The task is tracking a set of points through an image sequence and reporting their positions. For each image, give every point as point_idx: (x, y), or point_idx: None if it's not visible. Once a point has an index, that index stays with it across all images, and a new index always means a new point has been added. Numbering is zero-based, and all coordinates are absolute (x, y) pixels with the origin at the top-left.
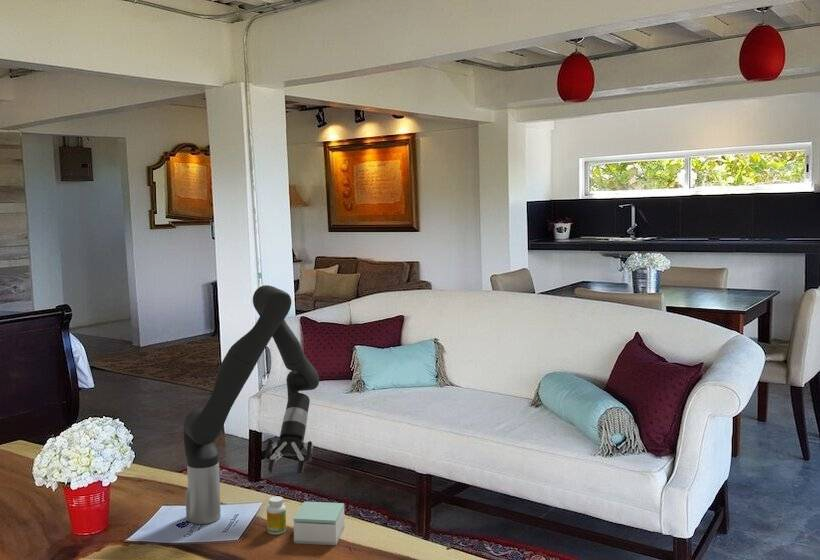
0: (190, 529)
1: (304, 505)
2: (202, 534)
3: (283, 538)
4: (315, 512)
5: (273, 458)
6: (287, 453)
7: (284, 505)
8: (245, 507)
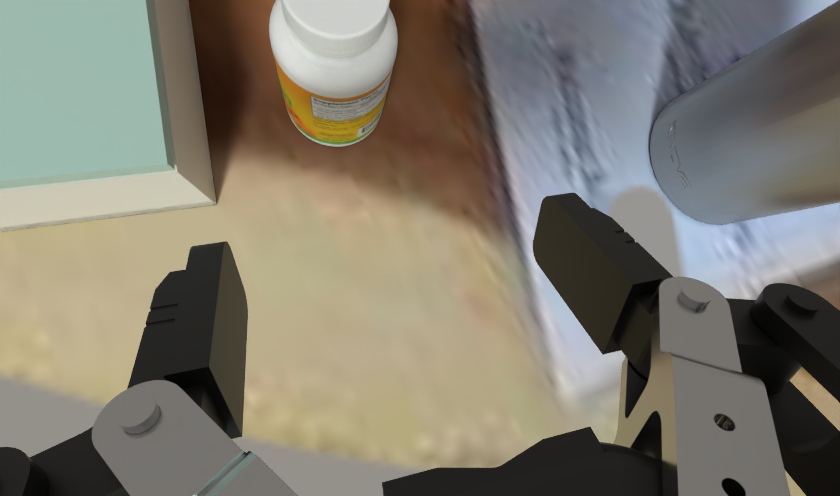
0: (697, 47)
1: (134, 93)
2: (630, 13)
3: (264, 34)
4: None
5: (661, 297)
6: (510, 468)
7: (285, 52)
8: None
